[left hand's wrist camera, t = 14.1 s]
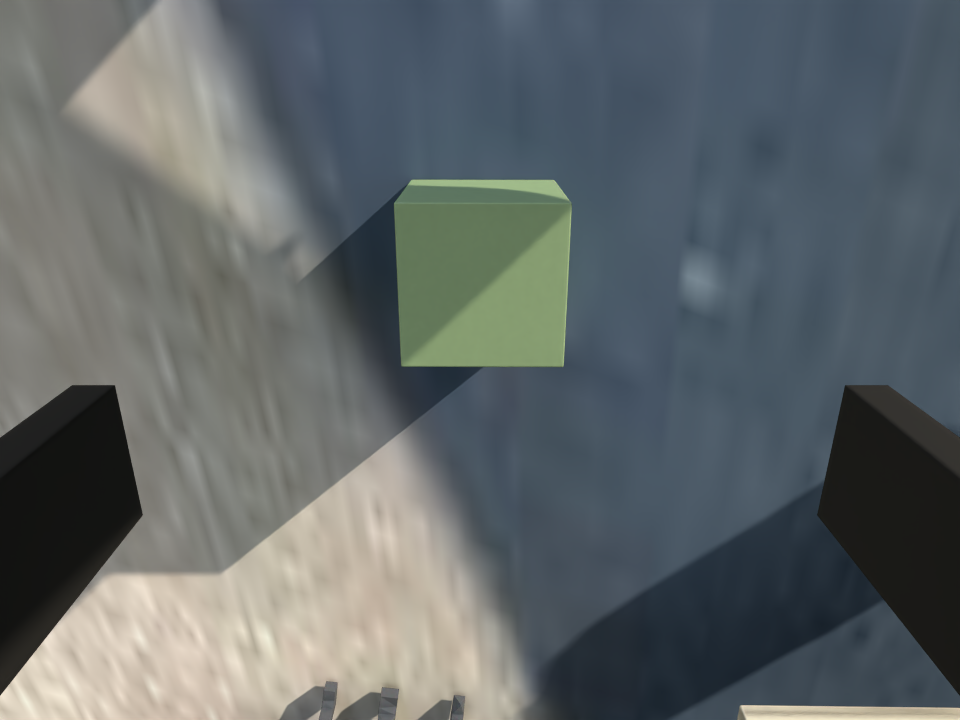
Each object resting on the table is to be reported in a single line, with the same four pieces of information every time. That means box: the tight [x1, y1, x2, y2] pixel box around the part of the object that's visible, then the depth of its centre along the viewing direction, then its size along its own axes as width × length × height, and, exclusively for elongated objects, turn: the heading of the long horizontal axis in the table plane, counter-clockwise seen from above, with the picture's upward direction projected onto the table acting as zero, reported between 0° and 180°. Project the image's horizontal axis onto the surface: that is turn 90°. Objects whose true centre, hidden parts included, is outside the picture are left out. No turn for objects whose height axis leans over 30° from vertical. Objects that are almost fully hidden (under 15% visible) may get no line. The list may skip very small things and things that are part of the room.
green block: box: [394, 180, 572, 367], centre depth 25 cm, size 6×6×6 cm
